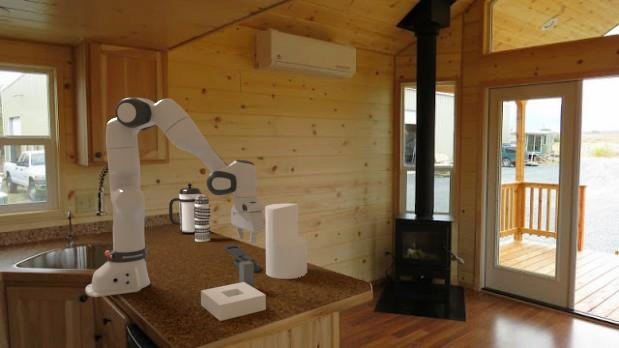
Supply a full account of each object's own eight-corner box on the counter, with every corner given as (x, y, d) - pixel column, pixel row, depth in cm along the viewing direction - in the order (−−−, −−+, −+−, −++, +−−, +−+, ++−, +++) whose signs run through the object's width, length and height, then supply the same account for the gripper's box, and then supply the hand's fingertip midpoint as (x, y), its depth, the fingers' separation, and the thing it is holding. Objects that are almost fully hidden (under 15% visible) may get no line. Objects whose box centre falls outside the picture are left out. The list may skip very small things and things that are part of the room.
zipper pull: (238, 243, 209) (262, 255, 188) (239, 257, 210) (263, 270, 189) (220, 246, 204) (243, 258, 183) (221, 260, 205) (243, 274, 184)
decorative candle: (196, 238, 251) (195, 194, 249) (213, 238, 250) (212, 194, 248) (191, 241, 242) (190, 196, 240) (208, 241, 241) (207, 196, 239)
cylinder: (257, 274, 183) (256, 207, 181) (282, 264, 198) (282, 202, 196) (291, 281, 174) (290, 211, 172) (314, 270, 188) (314, 205, 186)
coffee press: (196, 228, 276) (195, 181, 274) (207, 233, 264) (206, 183, 262) (169, 232, 265) (167, 183, 263) (180, 237, 253) (178, 185, 251)
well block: (220, 321, 136) (219, 305, 136) (201, 305, 149) (200, 290, 149) (265, 309, 145) (265, 294, 145) (244, 295, 158) (243, 281, 158)
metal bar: (244, 291, 163) (243, 264, 162) (239, 288, 166) (239, 262, 165) (253, 289, 165) (253, 263, 164) (249, 286, 168) (248, 260, 167)
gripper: (226, 201, 170) (227, 236, 171) (250, 208, 153) (251, 247, 154) (241, 199, 173) (242, 234, 174) (266, 206, 156) (267, 244, 158)
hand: (246, 240), depth 164 cm, fingers open, 8 cm apart
